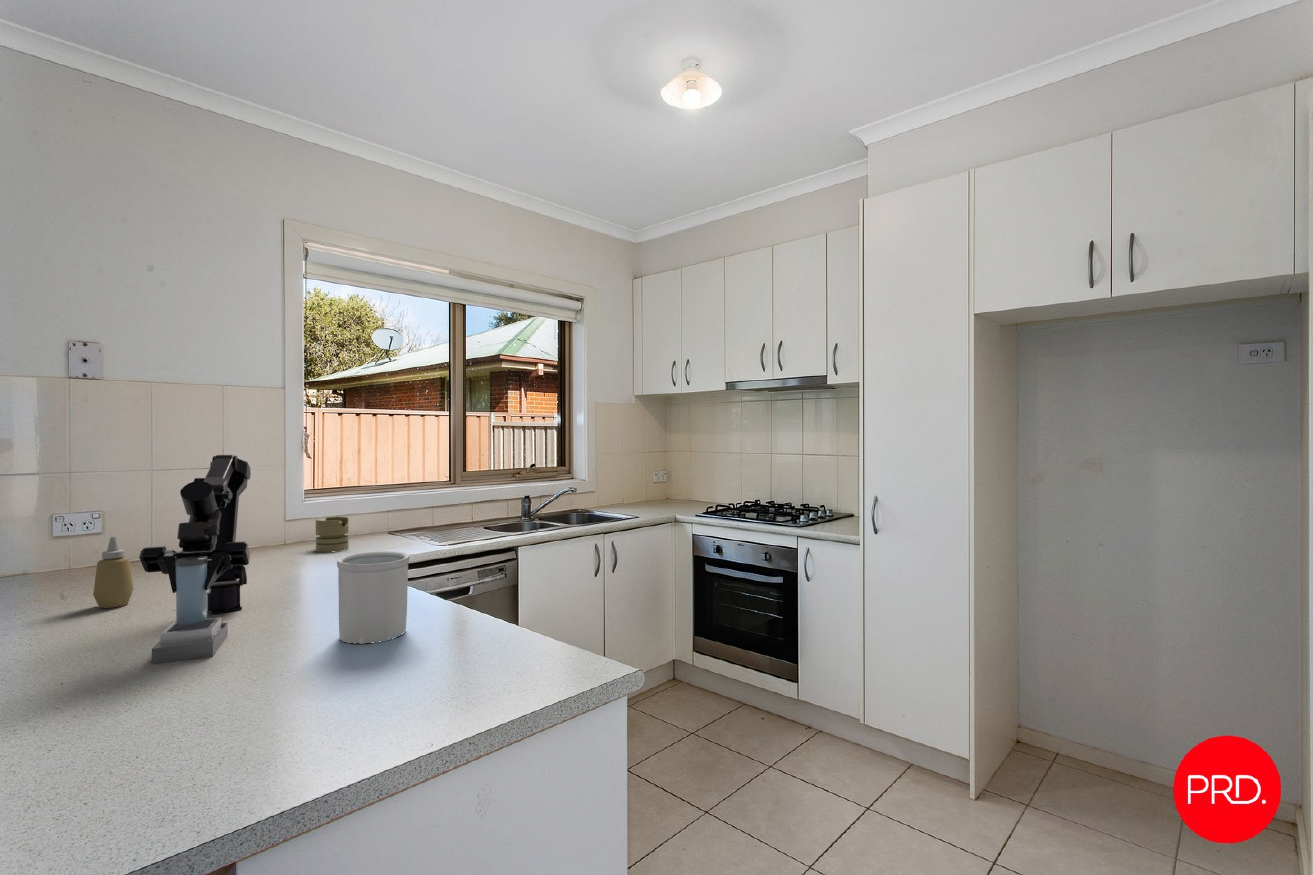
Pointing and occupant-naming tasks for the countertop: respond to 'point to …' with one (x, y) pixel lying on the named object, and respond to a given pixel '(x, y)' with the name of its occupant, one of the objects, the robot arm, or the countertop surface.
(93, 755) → the countertop surface
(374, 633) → the utensil holder
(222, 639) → the gray rectangular open-top holder
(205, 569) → the capped blue cylinder
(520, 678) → the countertop surface
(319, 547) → the piston
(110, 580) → the squeeze bottle
